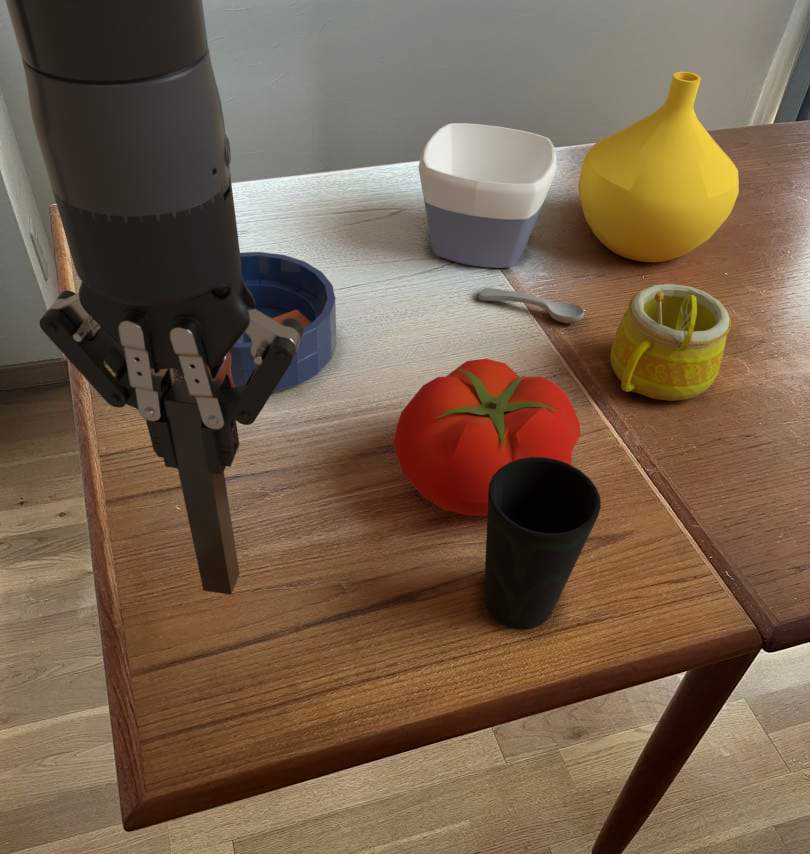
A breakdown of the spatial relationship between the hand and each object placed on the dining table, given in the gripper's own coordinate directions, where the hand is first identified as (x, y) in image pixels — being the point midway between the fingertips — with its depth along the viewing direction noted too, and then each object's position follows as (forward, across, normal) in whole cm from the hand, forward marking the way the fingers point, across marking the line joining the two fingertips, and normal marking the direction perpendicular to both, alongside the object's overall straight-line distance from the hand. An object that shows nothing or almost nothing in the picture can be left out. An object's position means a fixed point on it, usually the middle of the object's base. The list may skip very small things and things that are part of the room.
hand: (199, 460), depth 48 cm
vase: (+18, +33, +66) cm, 76 cm away
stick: (+11, 0, 0) cm, 11 cm away
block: (+17, -4, +35) cm, 39 cm away
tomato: (+18, +17, +20) cm, 32 cm away
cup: (+18, +21, +7) cm, 29 cm away
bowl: (+18, +13, +61) cm, 65 cm away
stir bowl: (+18, -8, +35) cm, 40 cm away
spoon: (+18, +20, +48) cm, 55 cm away
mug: (+18, +33, +38) cm, 54 cm away
